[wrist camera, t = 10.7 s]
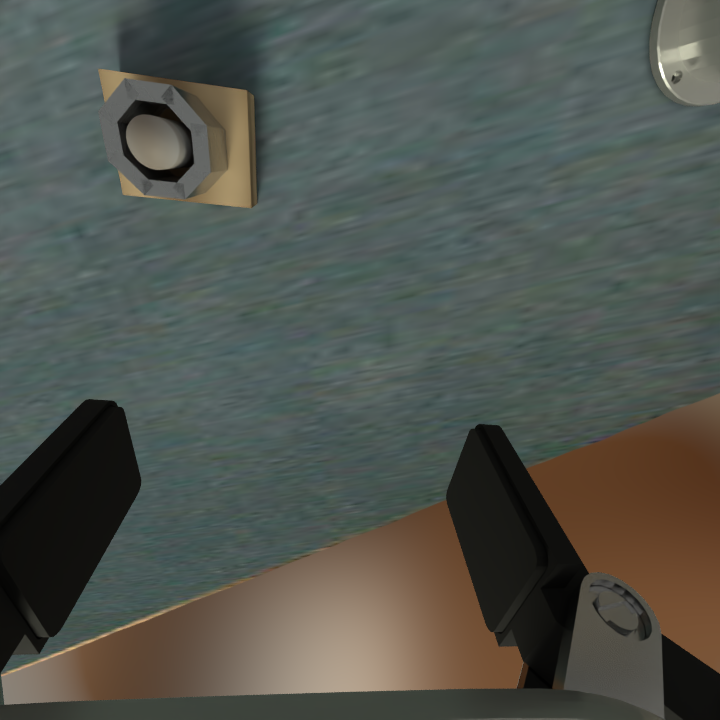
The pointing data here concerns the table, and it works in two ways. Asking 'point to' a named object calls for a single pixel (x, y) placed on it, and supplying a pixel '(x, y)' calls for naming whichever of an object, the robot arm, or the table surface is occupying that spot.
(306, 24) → the table surface
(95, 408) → the robot arm
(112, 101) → the tube
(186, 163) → the shaft block
